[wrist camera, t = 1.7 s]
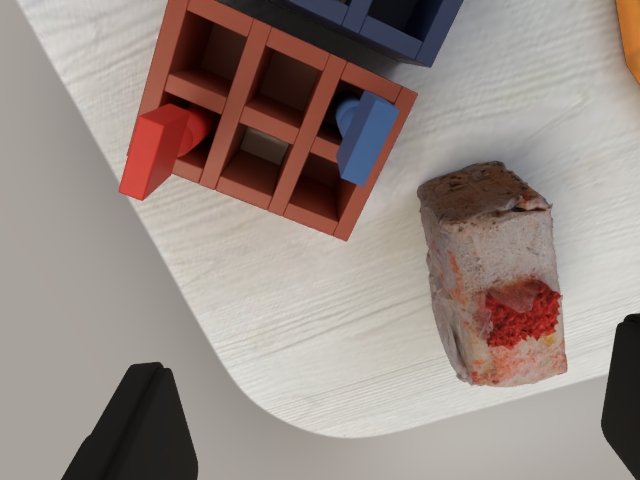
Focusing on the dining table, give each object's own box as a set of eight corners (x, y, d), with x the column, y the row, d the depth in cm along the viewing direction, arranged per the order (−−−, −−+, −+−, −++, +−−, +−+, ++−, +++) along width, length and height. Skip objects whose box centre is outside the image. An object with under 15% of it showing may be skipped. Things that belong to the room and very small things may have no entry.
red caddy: (168, 130, 31) (126, 156, 24) (208, -3, 28) (173, -19, 21) (339, 199, 33) (346, 242, 26) (393, 82, 30) (418, 93, 23)
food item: (532, 313, 37) (603, 399, 28) (435, 339, 38) (474, 431, 29) (505, 152, 32) (582, 193, 23) (394, 186, 33) (426, 239, 24)
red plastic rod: (191, 130, 30) (107, 188, 18) (205, 83, 29) (127, 110, 17) (217, 141, 31) (152, 205, 18) (232, 95, 30) (175, 129, 17)
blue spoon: (323, 121, 30) (331, 174, 18) (343, 74, 29) (365, 94, 17) (348, 132, 31) (372, 191, 18) (368, 86, 30) (410, 114, 17)
